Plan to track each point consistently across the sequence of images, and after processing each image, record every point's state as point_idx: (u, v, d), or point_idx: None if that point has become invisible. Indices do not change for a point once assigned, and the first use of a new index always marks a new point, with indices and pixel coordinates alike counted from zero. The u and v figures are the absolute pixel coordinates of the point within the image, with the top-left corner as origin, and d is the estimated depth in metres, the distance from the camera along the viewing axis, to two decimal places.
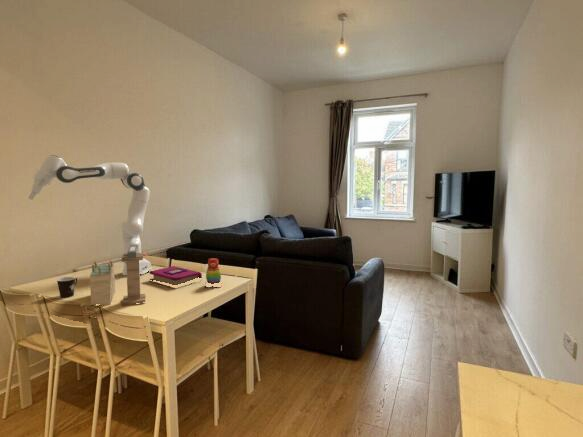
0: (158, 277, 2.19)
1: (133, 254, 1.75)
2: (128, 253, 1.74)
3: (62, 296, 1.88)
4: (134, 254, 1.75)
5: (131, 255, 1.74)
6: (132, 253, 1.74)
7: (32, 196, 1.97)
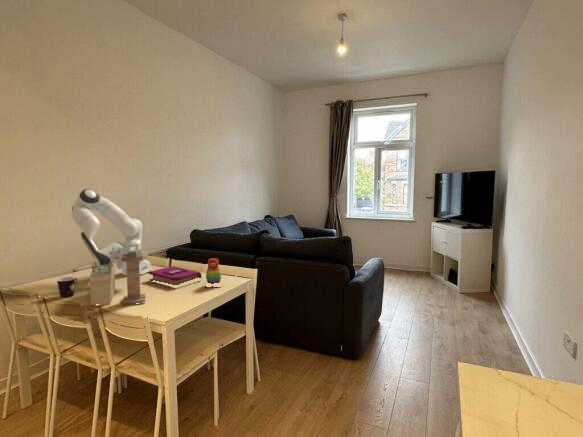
0: (157, 277, 2.19)
1: (133, 254, 1.75)
2: (128, 253, 1.74)
3: (62, 296, 1.88)
4: (134, 254, 1.75)
5: (131, 255, 1.74)
6: (132, 253, 1.74)
7: (121, 248, 2.00)
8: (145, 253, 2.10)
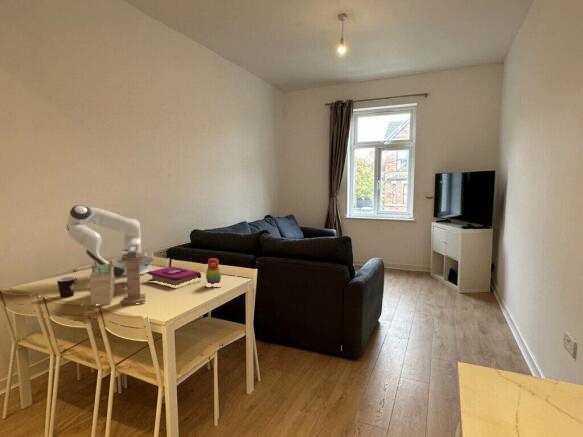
0: (157, 277, 2.18)
1: (133, 254, 1.75)
2: (128, 253, 1.74)
3: (62, 296, 1.88)
4: (134, 254, 1.75)
5: (131, 255, 1.74)
6: (132, 253, 1.74)
7: None
8: (150, 254, 2.08)
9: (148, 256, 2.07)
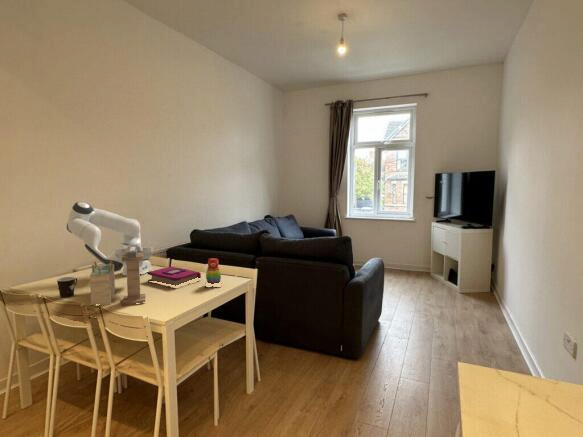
0: (157, 277, 2.18)
1: (133, 254, 1.75)
2: (128, 253, 1.74)
3: (62, 296, 1.88)
4: (134, 254, 1.75)
5: (131, 255, 1.74)
6: (132, 253, 1.74)
7: (126, 249, 1.92)
8: (150, 248, 1.99)
9: (148, 250, 1.98)
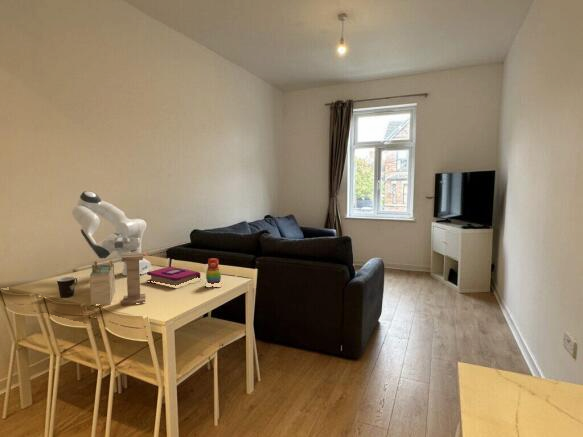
0: (156, 278, 2.18)
1: (120, 244, 1.81)
2: (115, 243, 1.80)
3: (62, 296, 1.88)
4: (121, 244, 1.81)
5: (118, 245, 1.80)
6: (119, 243, 1.80)
7: (114, 240, 1.98)
8: (137, 239, 2.05)
9: (134, 241, 2.04)
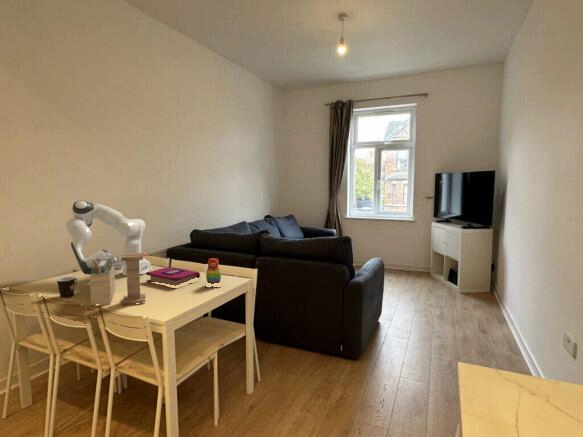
0: (156, 278, 2.17)
1: (101, 269, 1.79)
2: (96, 268, 1.78)
3: (62, 296, 1.88)
4: (102, 269, 1.79)
5: None
6: None
7: None
8: None
9: (119, 260, 2.02)
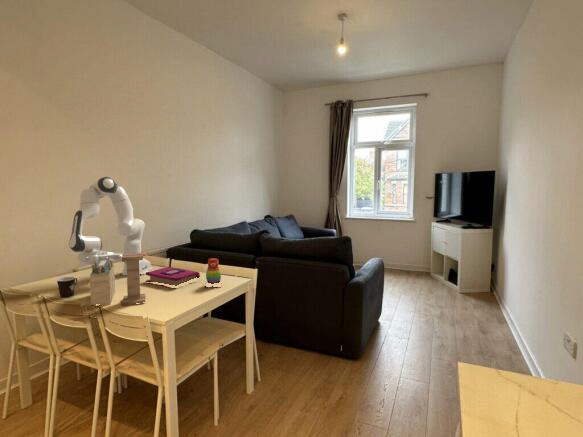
0: (155, 278, 2.17)
1: (101, 269, 1.79)
2: (96, 268, 1.78)
3: (62, 296, 1.88)
4: (102, 269, 1.79)
5: None
6: None
7: (104, 258, 2.01)
8: (121, 255, 2.15)
9: None
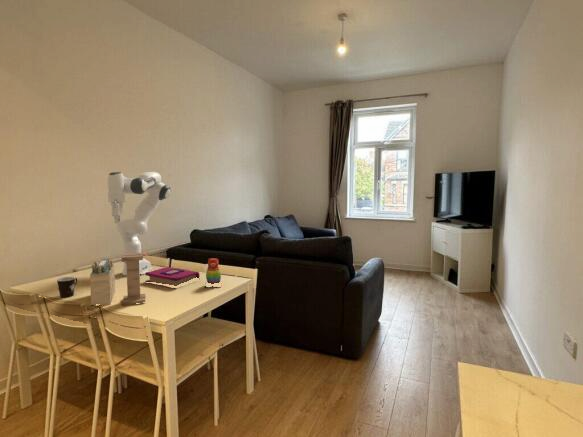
0: (155, 278, 2.16)
1: (101, 269, 1.79)
2: (96, 268, 1.78)
3: (62, 296, 1.88)
4: (102, 269, 1.79)
5: None
6: None
7: (116, 220, 1.95)
8: None
9: None
